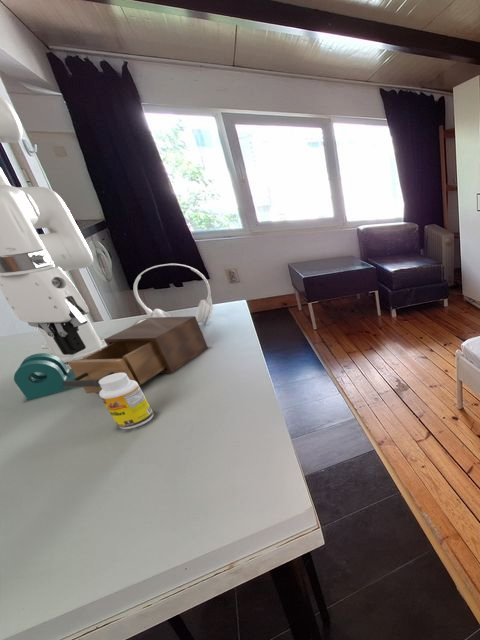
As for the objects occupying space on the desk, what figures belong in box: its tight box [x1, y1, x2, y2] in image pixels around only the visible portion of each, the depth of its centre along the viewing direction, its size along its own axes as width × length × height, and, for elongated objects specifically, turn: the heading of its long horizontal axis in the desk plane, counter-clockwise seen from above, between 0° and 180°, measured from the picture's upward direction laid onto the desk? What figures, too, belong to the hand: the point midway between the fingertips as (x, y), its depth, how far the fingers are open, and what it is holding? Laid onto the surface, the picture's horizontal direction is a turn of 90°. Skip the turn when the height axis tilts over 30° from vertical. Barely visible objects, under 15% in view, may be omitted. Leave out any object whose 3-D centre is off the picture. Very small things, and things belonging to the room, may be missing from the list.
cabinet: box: [103, 315, 209, 374], centre depth 94 cm, size 14×13×10 cm
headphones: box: [133, 263, 214, 325], centre depth 112 cm, size 7×18×20 cm, turn 127°
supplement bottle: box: [98, 373, 154, 430], centre depth 70 cm, size 6×6×10 cm
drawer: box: [62, 341, 166, 394], centre depth 82 cm, size 17×11×8 cm, turn 178°
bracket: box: [13, 352, 76, 401], centre depth 87 cm, size 18×7×8 cm, turn 129°
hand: (75, 351), depth 74 cm, fingers closed
